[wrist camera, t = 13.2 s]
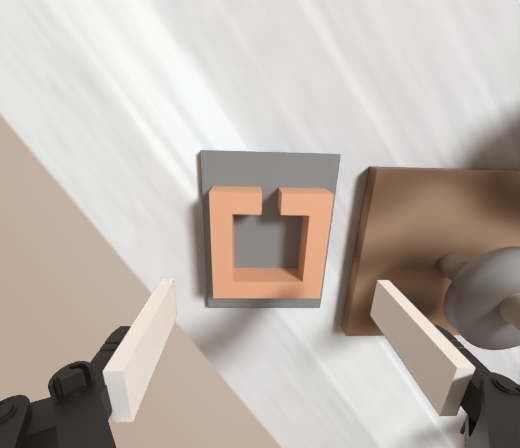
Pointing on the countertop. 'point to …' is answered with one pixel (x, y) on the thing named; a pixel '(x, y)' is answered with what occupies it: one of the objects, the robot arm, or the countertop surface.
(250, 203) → the c link
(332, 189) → the slate mat
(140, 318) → the robot arm
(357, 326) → the post stand
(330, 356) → the countertop surface
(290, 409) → the countertop surface
